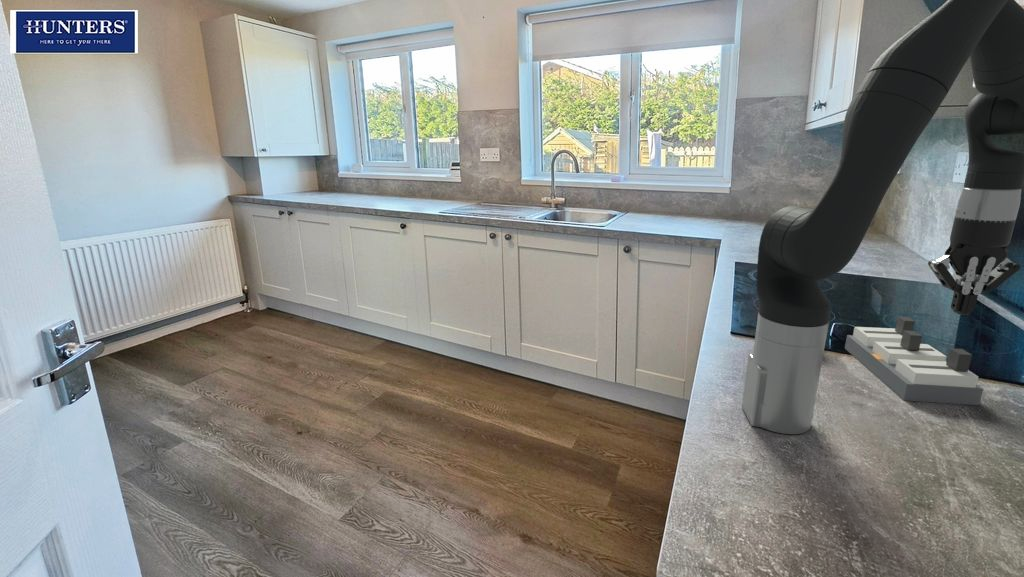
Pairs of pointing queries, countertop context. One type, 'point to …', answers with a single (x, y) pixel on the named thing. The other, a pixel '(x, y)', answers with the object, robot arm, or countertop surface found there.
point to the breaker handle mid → (911, 340)
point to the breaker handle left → (904, 324)
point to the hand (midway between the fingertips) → (961, 313)
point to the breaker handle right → (959, 360)
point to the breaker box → (912, 368)
